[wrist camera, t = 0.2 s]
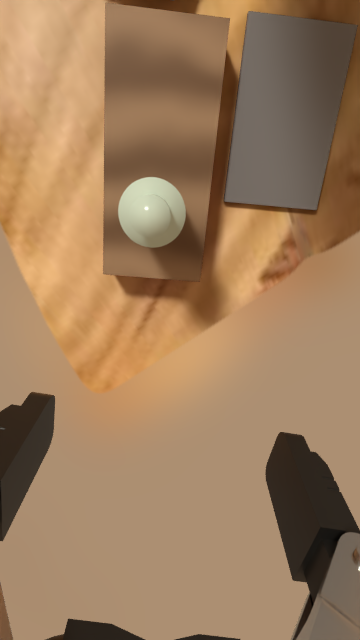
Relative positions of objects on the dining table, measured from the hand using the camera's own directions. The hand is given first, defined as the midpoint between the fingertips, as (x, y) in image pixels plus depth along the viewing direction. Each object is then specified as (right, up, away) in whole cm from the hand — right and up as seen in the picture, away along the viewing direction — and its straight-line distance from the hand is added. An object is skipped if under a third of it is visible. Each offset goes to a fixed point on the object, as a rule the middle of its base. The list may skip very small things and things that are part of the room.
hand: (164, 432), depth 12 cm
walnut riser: (-2, +20, +23) cm, 30 cm away
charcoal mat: (+11, +24, +22) cm, 34 cm away
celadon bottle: (-2, +15, +20) cm, 25 cm away
